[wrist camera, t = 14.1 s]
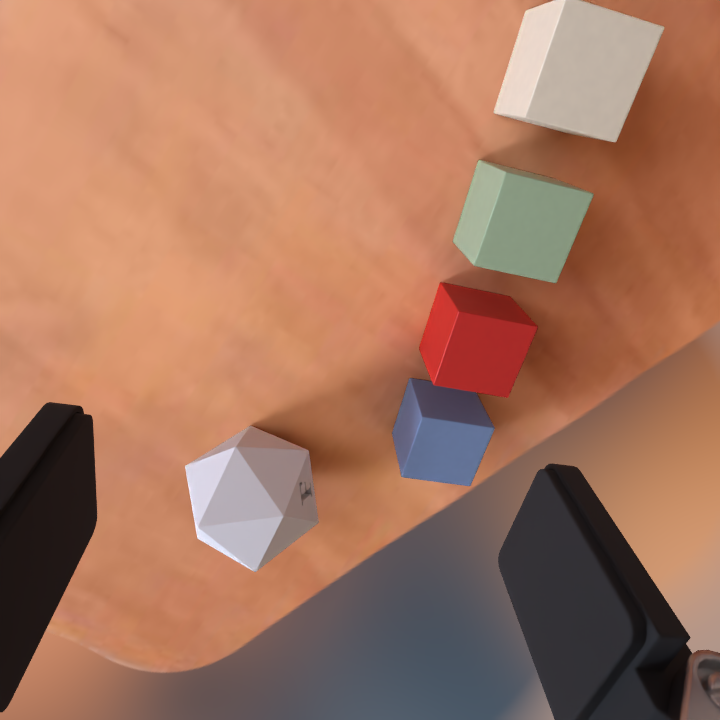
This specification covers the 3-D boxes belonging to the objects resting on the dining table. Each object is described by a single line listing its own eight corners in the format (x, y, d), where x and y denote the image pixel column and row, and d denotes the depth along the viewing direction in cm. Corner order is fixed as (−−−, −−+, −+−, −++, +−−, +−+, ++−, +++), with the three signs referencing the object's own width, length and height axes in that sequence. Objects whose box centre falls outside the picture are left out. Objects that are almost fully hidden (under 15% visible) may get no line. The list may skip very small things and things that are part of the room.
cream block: (525, 9, 27) (566, -6, 22) (610, 36, 28) (665, 26, 23) (492, 113, 29) (524, 117, 25) (572, 134, 30) (616, 143, 26)
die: (288, 510, 43) (352, 553, 34) (178, 550, 38) (223, 611, 30) (273, 411, 42) (337, 430, 33) (158, 439, 37) (199, 470, 29)
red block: (439, 281, 34) (458, 311, 29) (510, 296, 34) (538, 326, 30) (418, 348, 36) (432, 385, 31) (485, 360, 37) (508, 398, 32)
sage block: (478, 159, 30) (505, 171, 26) (555, 178, 31) (594, 193, 27) (452, 241, 32) (473, 266, 28) (524, 257, 33) (556, 283, 29)
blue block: (409, 377, 37) (422, 416, 32) (474, 388, 38) (495, 428, 33) (391, 433, 39) (401, 477, 35) (453, 442, 40) (470, 486, 35)
